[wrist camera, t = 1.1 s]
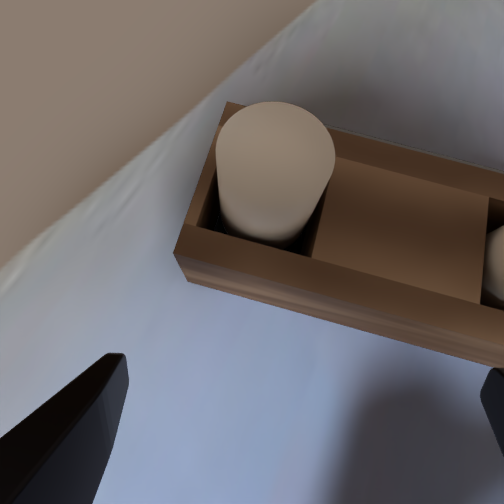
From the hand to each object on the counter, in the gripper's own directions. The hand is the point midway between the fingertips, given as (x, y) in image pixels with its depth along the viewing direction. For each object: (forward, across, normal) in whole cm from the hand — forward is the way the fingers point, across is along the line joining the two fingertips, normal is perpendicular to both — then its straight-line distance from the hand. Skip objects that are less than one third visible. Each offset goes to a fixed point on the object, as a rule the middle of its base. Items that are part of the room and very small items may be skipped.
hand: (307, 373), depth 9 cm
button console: (+15, -6, +4) cm, 16 cm away
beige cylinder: (+13, +1, +1) cm, 13 cm away
